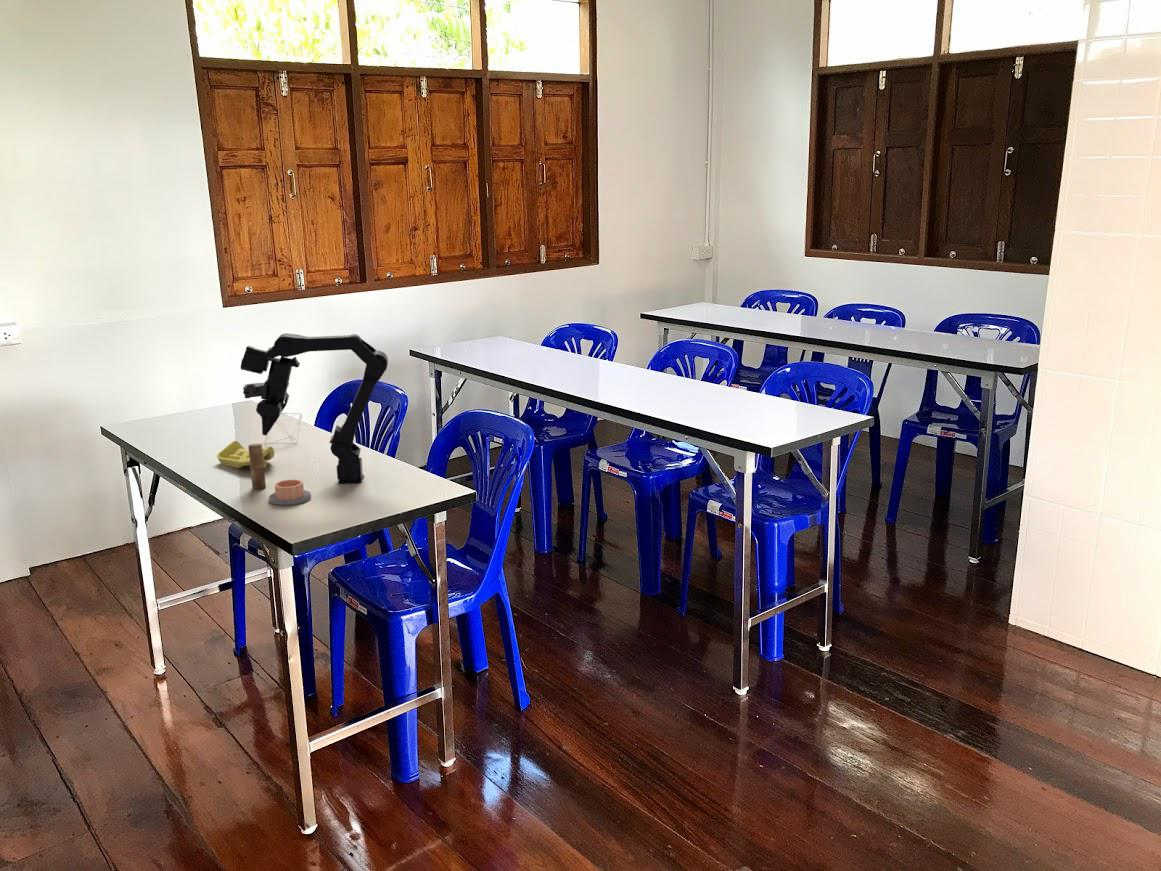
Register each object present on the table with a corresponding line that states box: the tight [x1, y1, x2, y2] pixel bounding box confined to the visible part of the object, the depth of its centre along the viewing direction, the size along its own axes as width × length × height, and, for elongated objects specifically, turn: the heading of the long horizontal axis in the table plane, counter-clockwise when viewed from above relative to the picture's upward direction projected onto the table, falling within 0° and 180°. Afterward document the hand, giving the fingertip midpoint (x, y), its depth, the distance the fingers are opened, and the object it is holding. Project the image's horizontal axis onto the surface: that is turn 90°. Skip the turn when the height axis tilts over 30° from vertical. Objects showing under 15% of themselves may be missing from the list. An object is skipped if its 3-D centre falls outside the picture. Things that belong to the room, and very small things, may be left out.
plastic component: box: [216, 440, 275, 469], centre depth 295 cm, size 20×7×10 cm
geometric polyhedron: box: [264, 412, 303, 445], centre depth 322 cm, size 12×11×9 cm
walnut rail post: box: [247, 443, 267, 491], centre depth 272 cm, size 4×4×12 cm
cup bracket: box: [268, 478, 312, 507], centre depth 263 cm, size 11×11×4 cm
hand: (267, 430), depth 273 cm, fingers open, 9 cm apart
